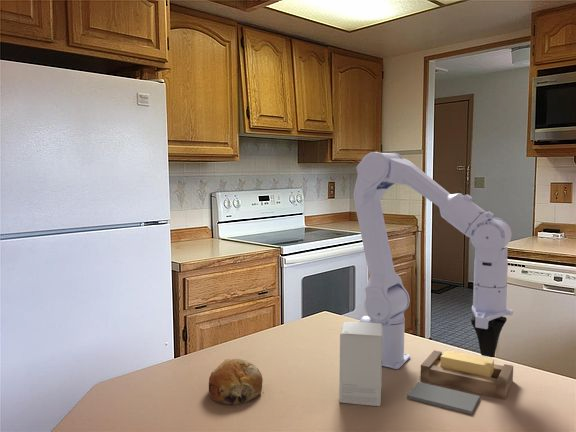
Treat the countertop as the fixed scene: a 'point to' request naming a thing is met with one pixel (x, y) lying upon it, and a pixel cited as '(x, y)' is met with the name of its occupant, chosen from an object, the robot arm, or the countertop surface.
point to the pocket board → (468, 377)
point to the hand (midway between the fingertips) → (487, 355)
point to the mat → (444, 397)
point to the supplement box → (360, 363)
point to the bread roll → (235, 382)
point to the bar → (467, 363)
